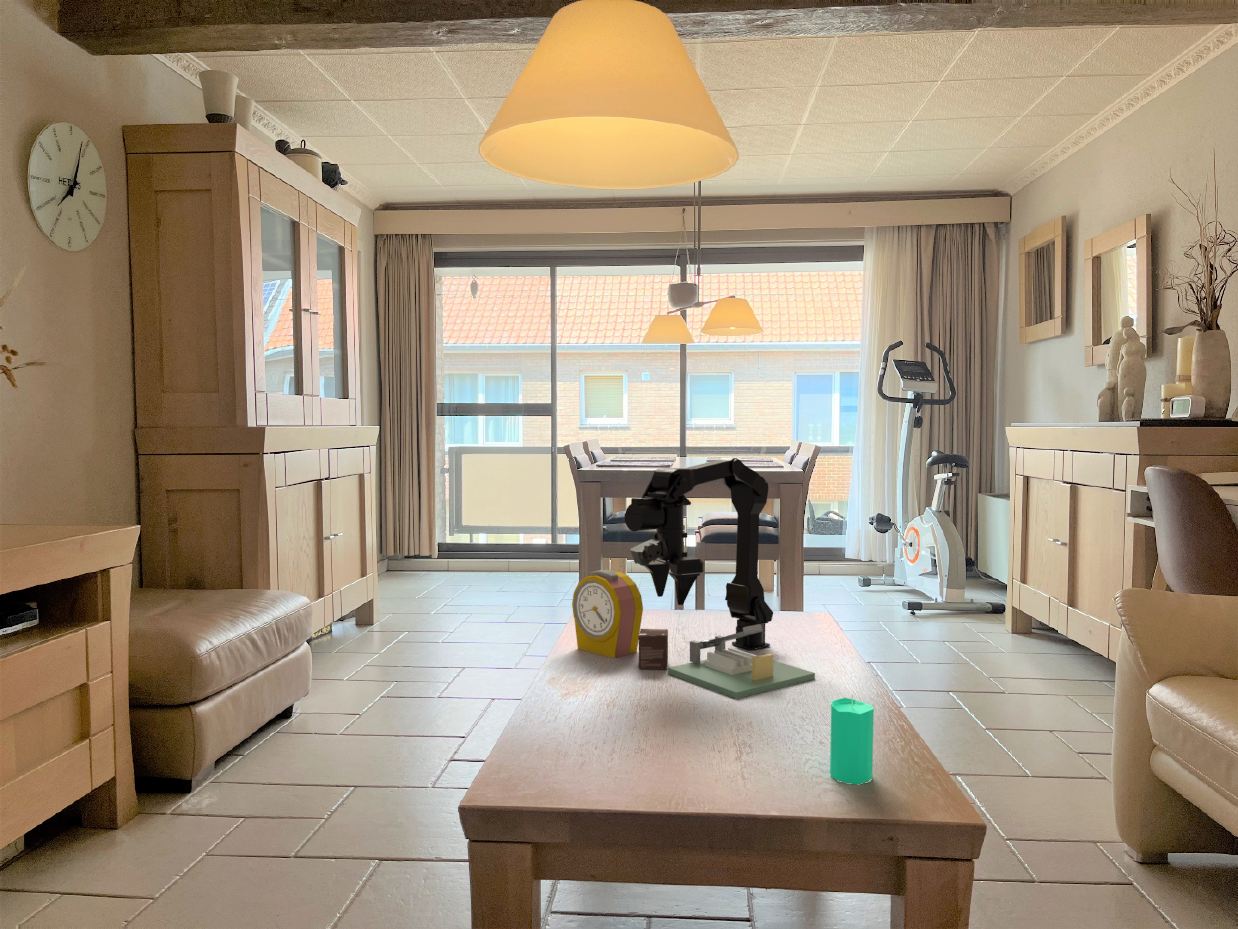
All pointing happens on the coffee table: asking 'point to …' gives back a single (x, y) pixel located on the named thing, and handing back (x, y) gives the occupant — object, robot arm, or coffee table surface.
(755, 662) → the board
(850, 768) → the candle
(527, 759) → the coffee table surface
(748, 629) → the grey hinged lever
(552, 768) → the coffee table surface
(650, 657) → the box
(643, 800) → the coffee table surface
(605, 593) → the alarm clock
